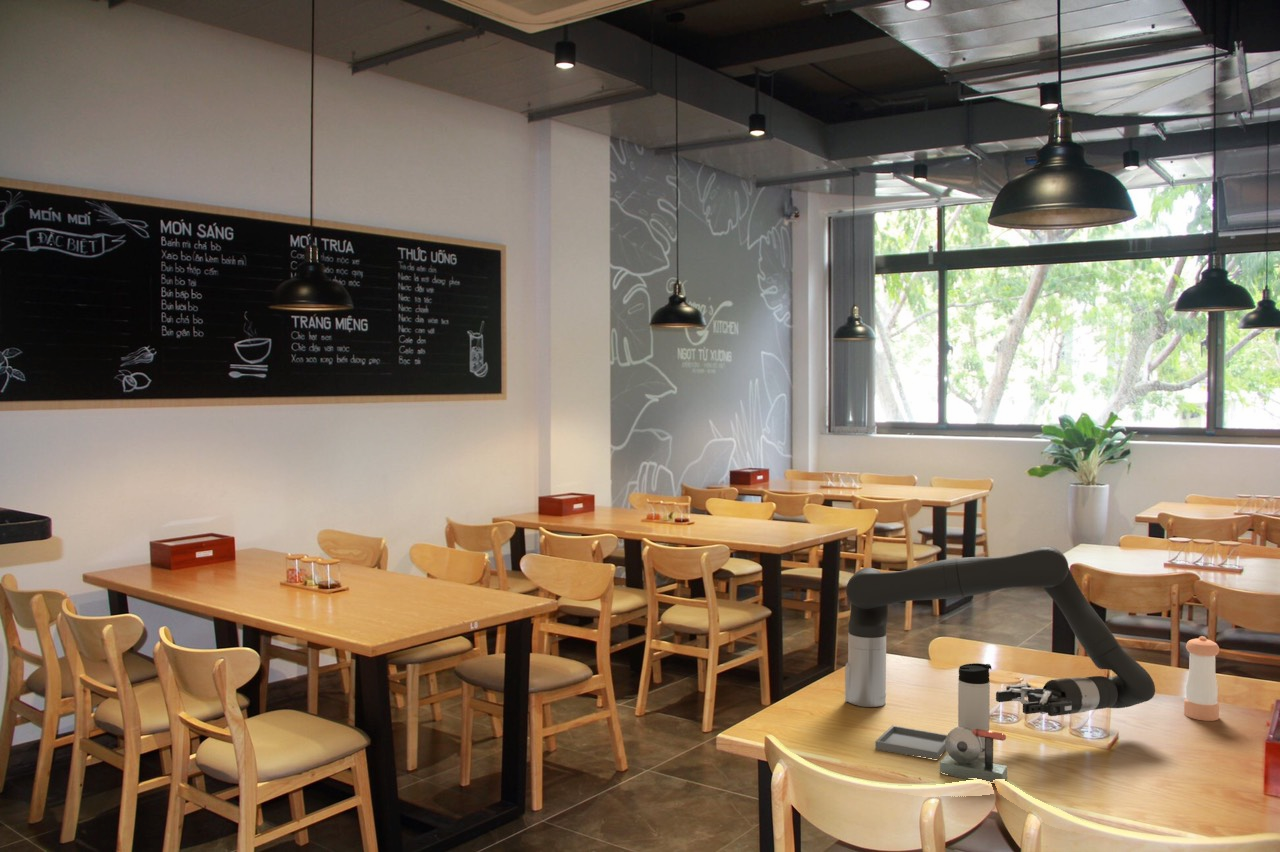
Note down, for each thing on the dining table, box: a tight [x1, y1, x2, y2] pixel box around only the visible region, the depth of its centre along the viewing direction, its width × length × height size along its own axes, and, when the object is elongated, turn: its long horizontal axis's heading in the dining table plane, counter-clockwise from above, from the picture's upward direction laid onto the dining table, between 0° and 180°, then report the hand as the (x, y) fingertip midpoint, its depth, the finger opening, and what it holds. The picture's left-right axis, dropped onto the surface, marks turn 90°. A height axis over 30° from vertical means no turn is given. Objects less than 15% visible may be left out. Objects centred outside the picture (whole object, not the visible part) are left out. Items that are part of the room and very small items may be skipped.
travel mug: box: [957, 662, 992, 762], centre depth 210 cm, size 6×7×20 cm
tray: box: [874, 724, 948, 760], centre depth 217 cm, size 13×12×2 cm
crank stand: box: [939, 726, 1008, 782], centre depth 201 cm, size 12×5×10 cm, turn 59°
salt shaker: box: [1183, 635, 1220, 722], centre depth 238 cm, size 7×7×19 cm
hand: (1010, 702), depth 213 cm, fingers open, 8 cm apart
